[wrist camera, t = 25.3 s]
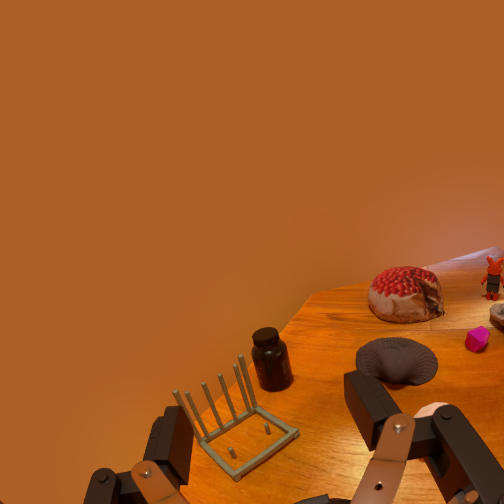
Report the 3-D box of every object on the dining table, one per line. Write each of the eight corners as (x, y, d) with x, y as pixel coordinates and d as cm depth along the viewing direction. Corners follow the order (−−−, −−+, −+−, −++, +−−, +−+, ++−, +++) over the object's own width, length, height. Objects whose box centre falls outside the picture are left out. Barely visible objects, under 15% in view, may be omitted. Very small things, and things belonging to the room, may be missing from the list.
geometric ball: (419, 461, 27) (401, 458, 24) (417, 417, 33) (399, 406, 30) (465, 445, 22) (455, 441, 20) (459, 400, 29) (448, 386, 26)
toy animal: (504, 294, 54) (508, 253, 51) (502, 302, 51) (507, 260, 48) (481, 291, 60) (484, 251, 57) (479, 299, 57) (482, 258, 54)
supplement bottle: (281, 367, 57) (271, 320, 54) (299, 381, 51) (291, 332, 48) (253, 380, 54) (240, 333, 52) (270, 397, 48) (258, 348, 46)
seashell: (419, 407, 37) (431, 377, 34) (336, 373, 51) (337, 344, 48) (442, 360, 45) (451, 330, 43) (369, 337, 59) (372, 308, 57)
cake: (443, 330, 52) (446, 291, 49) (355, 318, 69) (353, 283, 67) (454, 289, 67) (456, 257, 64) (385, 284, 84) (383, 255, 82)
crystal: (481, 356, 39) (486, 337, 37) (461, 349, 43) (464, 331, 42) (489, 343, 41) (492, 324, 40) (469, 337, 45) (472, 319, 44)
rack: (236, 482, 30) (209, 432, 27) (198, 443, 39) (170, 391, 36) (300, 435, 37) (290, 379, 34) (256, 407, 46) (241, 353, 43)
